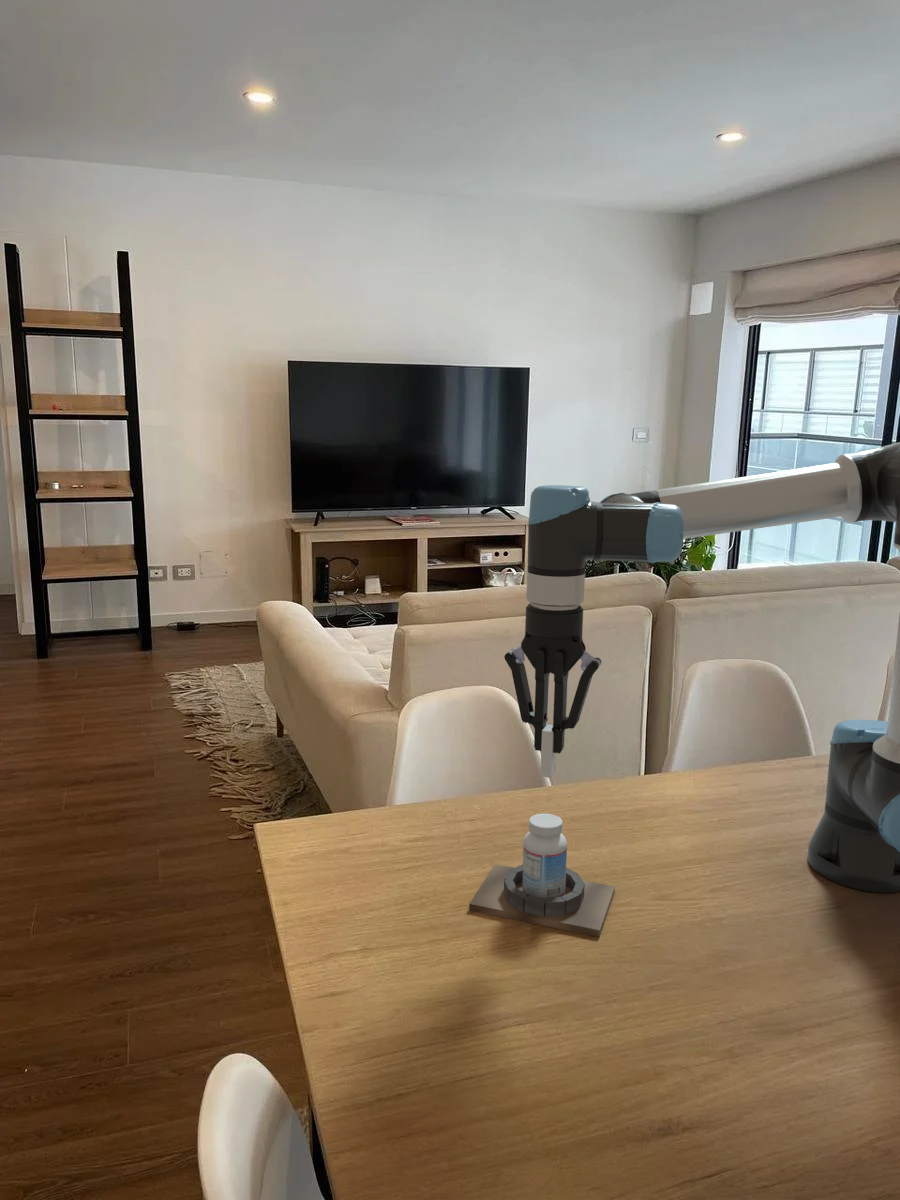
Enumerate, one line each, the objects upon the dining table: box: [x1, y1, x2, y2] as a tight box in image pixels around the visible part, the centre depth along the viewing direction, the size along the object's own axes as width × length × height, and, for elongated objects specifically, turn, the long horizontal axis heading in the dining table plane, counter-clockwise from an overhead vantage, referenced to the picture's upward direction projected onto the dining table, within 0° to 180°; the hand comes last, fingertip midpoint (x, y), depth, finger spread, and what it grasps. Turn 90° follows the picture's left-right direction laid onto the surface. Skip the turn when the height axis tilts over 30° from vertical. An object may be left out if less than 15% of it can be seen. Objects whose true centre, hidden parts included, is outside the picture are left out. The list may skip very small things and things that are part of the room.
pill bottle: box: [522, 813, 568, 898], centre depth 123 cm, size 6×6×11 cm
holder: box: [468, 863, 616, 938], centre depth 124 cm, size 18×12×3 cm, turn 70°
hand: (547, 773), depth 120 cm, fingers closed
